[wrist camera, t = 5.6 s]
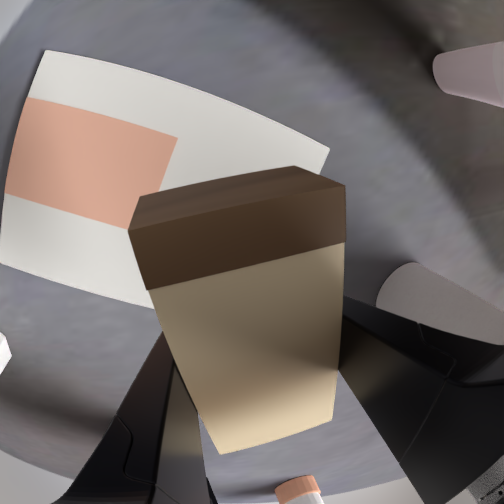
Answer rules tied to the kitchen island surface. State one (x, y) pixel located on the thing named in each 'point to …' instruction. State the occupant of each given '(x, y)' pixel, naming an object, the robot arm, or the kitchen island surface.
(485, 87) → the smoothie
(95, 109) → the mat
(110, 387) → the kitchen island surface
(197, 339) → the wooden block
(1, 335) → the pepper shaker
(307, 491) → the salt shaker
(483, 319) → the coffee cup
